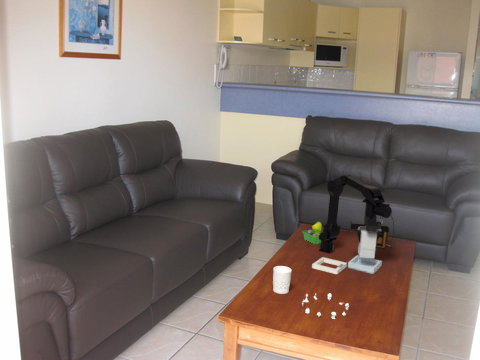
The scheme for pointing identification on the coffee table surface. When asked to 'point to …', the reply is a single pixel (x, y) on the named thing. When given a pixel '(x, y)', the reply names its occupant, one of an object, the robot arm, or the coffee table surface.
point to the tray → (365, 264)
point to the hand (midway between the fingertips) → (367, 243)
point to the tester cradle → (331, 270)
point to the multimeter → (383, 237)
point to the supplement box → (367, 244)
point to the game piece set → (328, 299)
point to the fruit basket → (313, 234)
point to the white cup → (281, 279)
